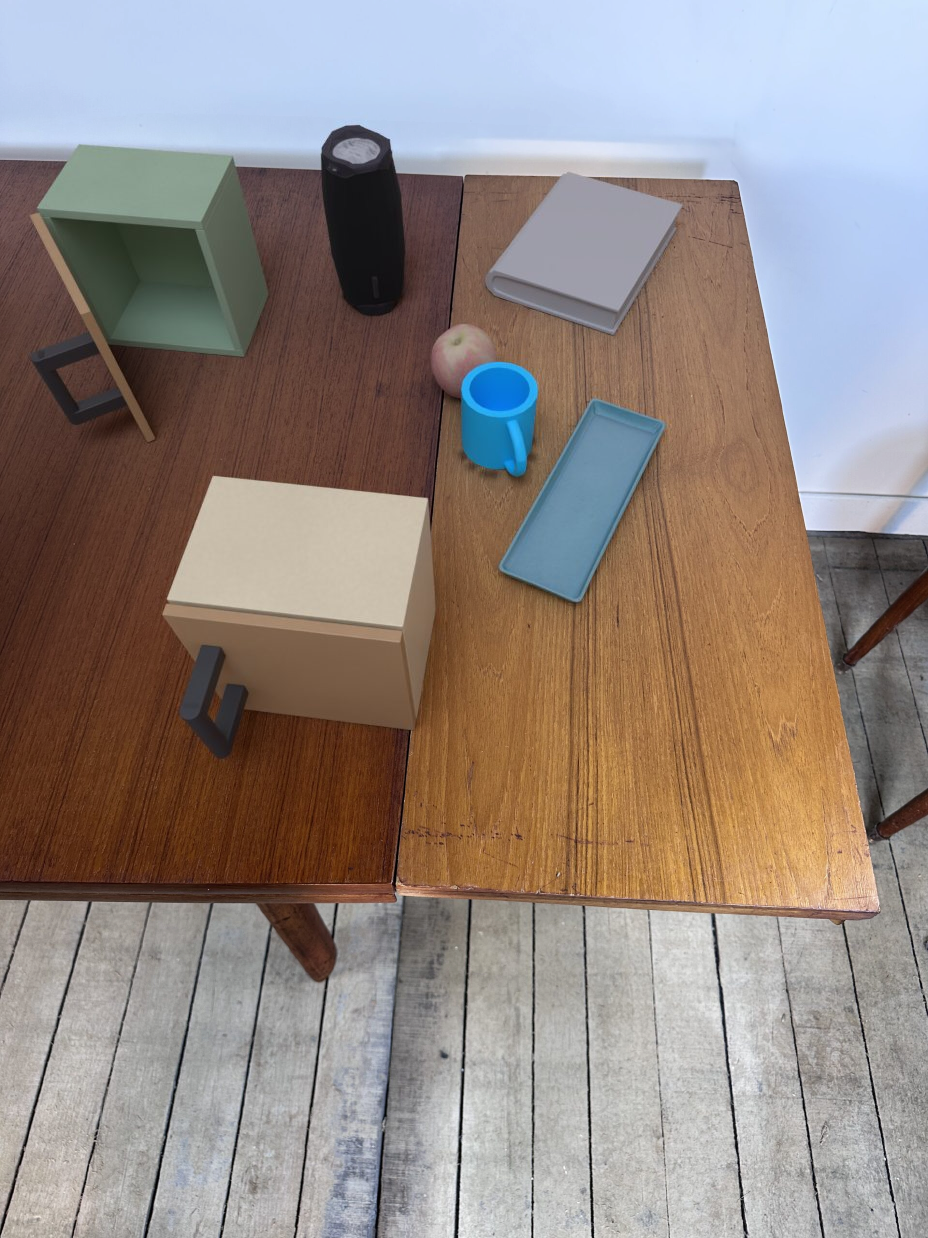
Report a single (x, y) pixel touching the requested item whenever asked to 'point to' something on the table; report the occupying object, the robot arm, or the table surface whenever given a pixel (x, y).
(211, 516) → the cream cupboard
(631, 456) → the rectangular tray
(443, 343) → the apple
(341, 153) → the portable speaker
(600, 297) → the book
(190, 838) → the table surface
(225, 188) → the green cupboard
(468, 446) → the mug
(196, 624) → the beige drawer front
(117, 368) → the tan wooden panel
